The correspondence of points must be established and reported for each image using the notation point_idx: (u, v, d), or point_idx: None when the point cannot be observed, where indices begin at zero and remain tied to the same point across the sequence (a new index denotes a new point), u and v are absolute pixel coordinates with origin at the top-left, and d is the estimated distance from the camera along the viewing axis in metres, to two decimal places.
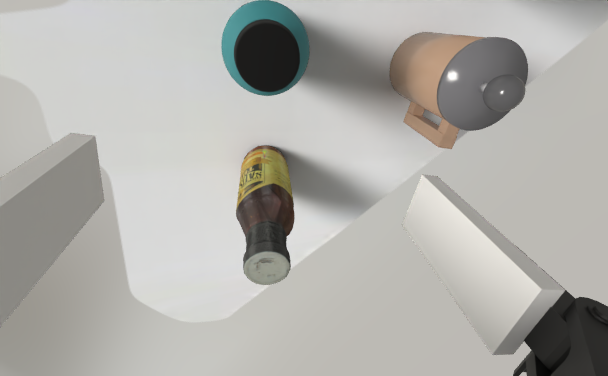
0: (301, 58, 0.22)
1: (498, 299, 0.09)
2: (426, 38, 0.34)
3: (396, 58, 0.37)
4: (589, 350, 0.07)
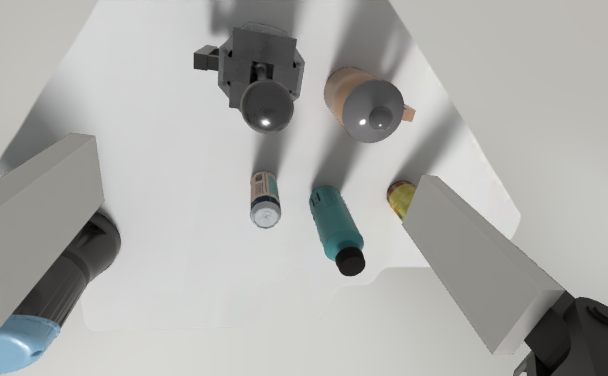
0: (349, 236, 0.45)
1: (498, 299, 0.09)
2: (331, 110, 0.48)
3: None
4: (589, 350, 0.07)
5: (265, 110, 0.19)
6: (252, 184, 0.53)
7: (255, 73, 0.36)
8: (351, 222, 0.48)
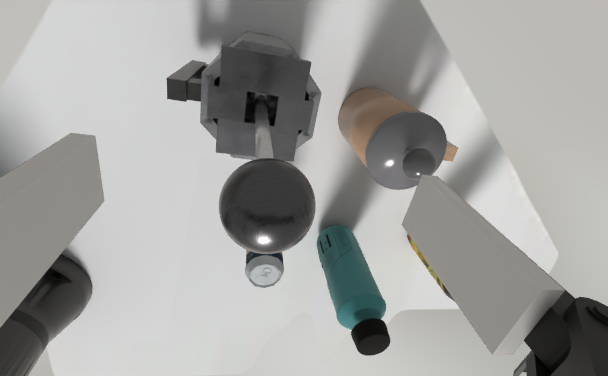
0: (369, 302, 0.36)
1: (498, 299, 0.09)
2: (348, 141, 0.39)
3: None
4: (589, 350, 0.07)
5: (264, 228, 0.10)
6: None
7: (253, 104, 0.26)
8: (370, 280, 0.39)
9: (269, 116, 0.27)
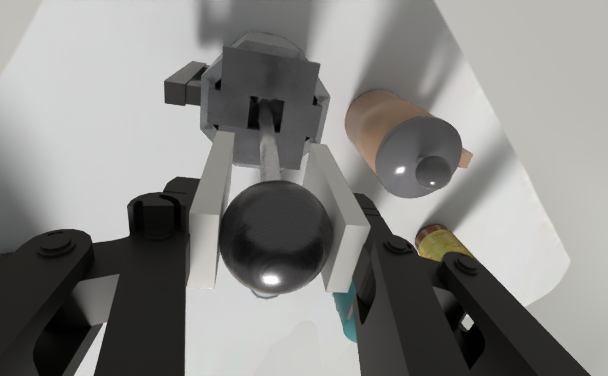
0: None
1: None
2: (355, 146, 0.37)
3: None
4: (387, 286, 0.07)
5: (273, 269, 0.08)
6: None
7: (256, 108, 0.25)
8: None
9: (274, 121, 0.25)
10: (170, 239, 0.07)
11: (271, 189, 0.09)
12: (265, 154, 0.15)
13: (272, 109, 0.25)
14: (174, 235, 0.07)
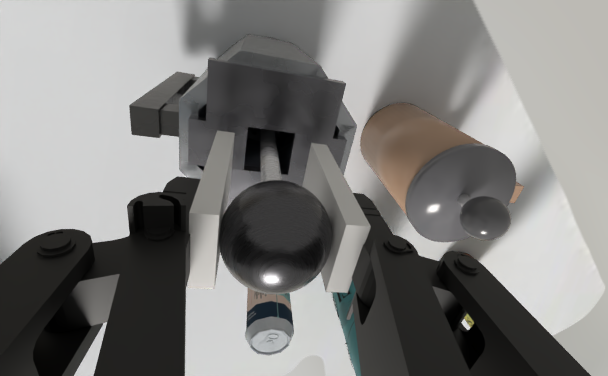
0: None
1: None
2: (374, 171, 0.31)
3: None
4: (387, 286, 0.07)
5: (273, 269, 0.08)
6: None
7: None
8: None
9: None
10: (170, 239, 0.07)
11: (271, 189, 0.09)
12: (265, 154, 0.15)
13: None
14: (174, 235, 0.07)
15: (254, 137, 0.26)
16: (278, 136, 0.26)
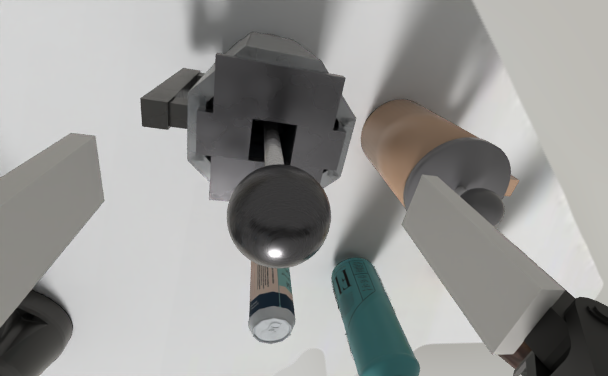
0: (401, 368, 0.29)
1: (498, 299, 0.09)
2: (374, 166, 0.32)
3: None
4: (589, 350, 0.07)
5: (276, 243, 0.09)
6: None
7: None
8: (400, 334, 0.32)
9: None
10: None
11: (275, 171, 0.10)
12: (269, 144, 0.15)
13: None
14: None
15: (257, 131, 0.27)
16: (281, 130, 0.27)
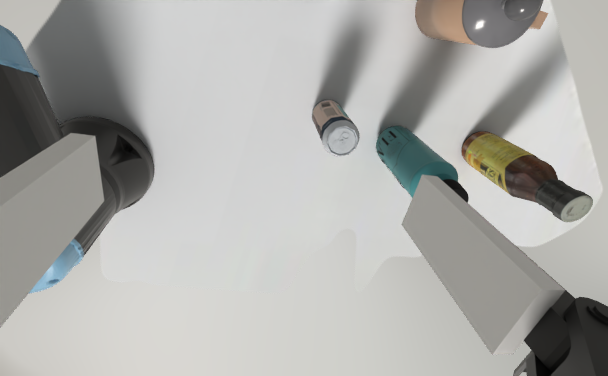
0: (445, 169, 0.37)
1: (498, 299, 0.09)
2: (428, 21, 0.40)
3: (431, 37, 0.43)
4: (589, 350, 0.07)
5: None
6: (318, 111, 0.45)
7: None
8: (441, 157, 0.40)
9: None
10: None
11: None
12: None
13: None
14: None
15: None
16: None
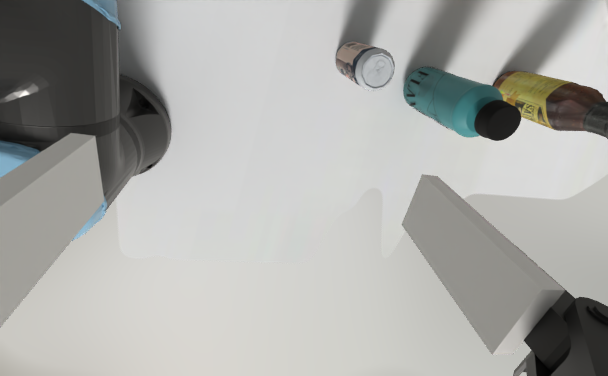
0: (491, 92, 0.34)
1: (498, 299, 0.09)
2: None
3: None
4: (589, 350, 0.07)
5: None
6: (343, 51, 0.42)
7: None
8: None
9: None
10: None
11: None
12: None
13: None
14: None
15: None
16: None
